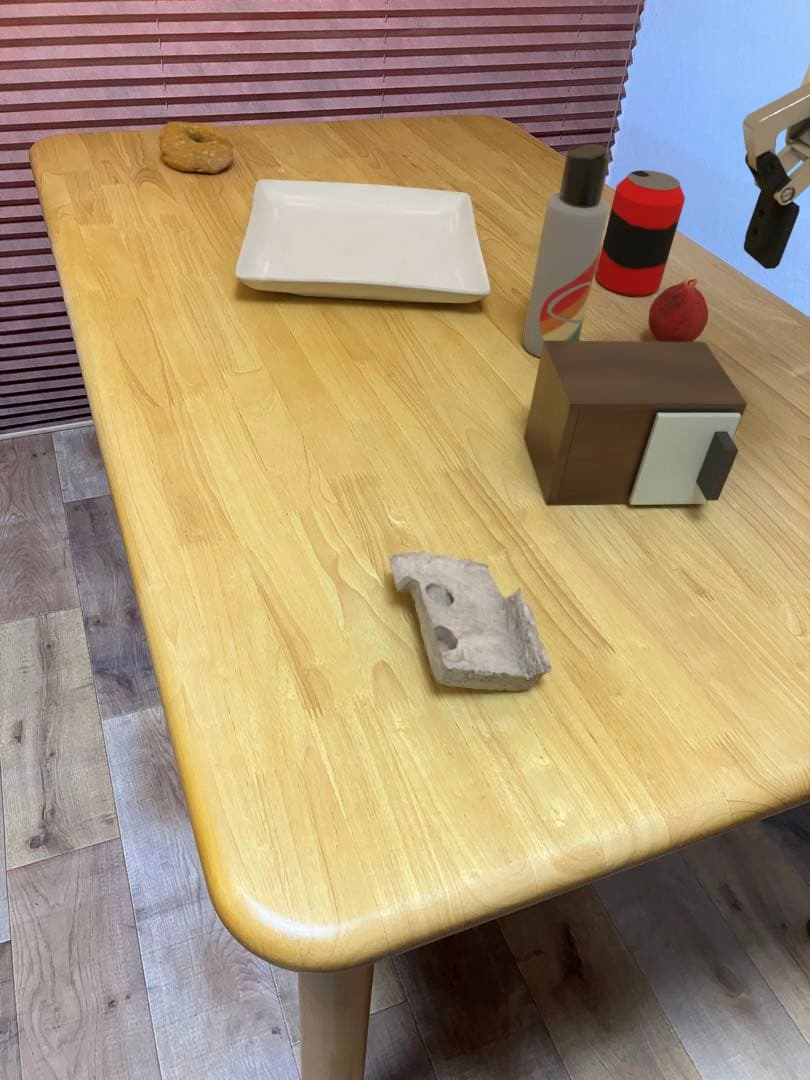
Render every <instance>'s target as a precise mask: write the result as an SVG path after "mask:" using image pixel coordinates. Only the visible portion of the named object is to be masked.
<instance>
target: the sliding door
mask: <svg viewBox="0 0 810 1080" xmlns="http://www.w3.org/2000/svg"><path fill="white" fill-rule="evenodd" d="M740 418H741V415H740V413H657V415H656V418H655V421H654V424H653V428H652V431H651V434H650V437H649V440H648V443H647V446H646V449H645V453H644V456H643V459H642V462H641V465H640V468H639V471H638V474H637V477H636V481H635V484H634V487H633V490H632V493H631V496H630V499H629V502H630V504H629V505H630V506H638V505H646V506H647V505H648V506H649V505H697V504H698V505H706V504H707V503H708V502H710V501H719V499H720V496H721V494H722V492H723V489H724V488H725V487H724V486H725V485H726V482H727V479H728V477H729V475H730V472H731V471H732V468H733V465H734V462H735V460H736V458H737V455H738V453H739V448H738V447H737V445H736V443H735V442H734V438H733V436H734V433H735V431H736V428H737V426H738V423H739V421H740ZM741 419H742V418H741ZM740 422H741V421H740ZM739 424H740V423H739ZM738 427H739V426H738ZM737 429H738V428H737ZM736 432H737V431H736ZM735 434H736V433H735ZM734 437H735V436H734ZM732 438H733V440H732ZM707 501H708V502H707Z"/></svg>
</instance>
